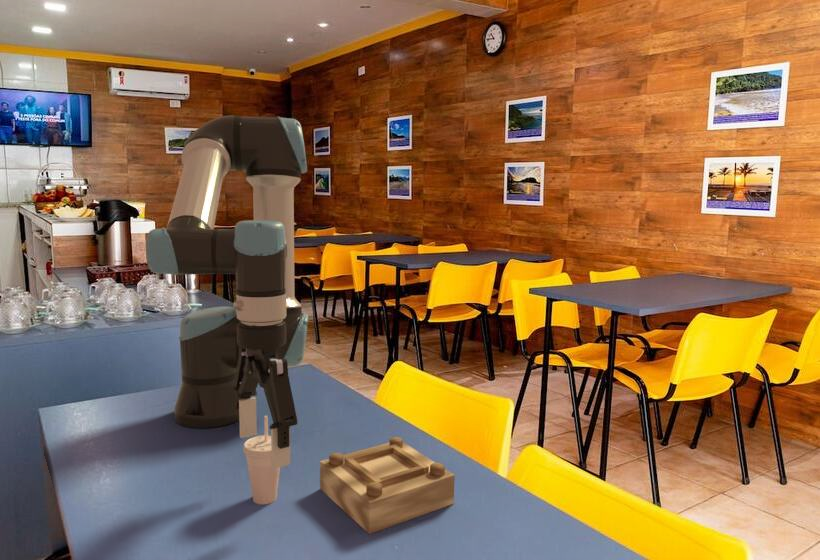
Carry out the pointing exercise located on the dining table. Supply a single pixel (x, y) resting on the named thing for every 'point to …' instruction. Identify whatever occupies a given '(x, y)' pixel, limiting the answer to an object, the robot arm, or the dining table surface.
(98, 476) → the dining table surface
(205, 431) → the dining table surface
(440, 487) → the base brick
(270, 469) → the smoothie
